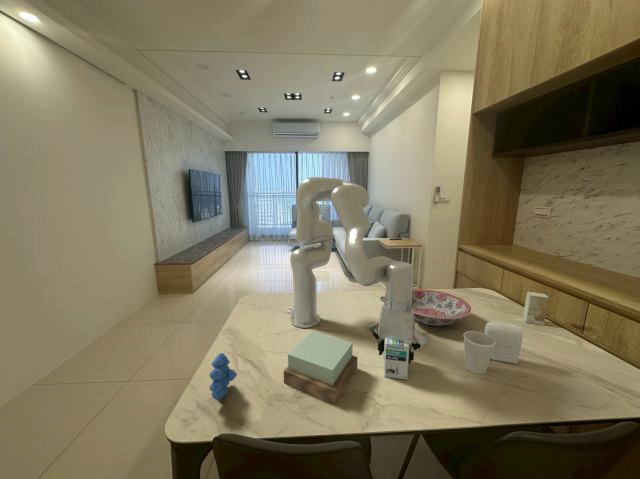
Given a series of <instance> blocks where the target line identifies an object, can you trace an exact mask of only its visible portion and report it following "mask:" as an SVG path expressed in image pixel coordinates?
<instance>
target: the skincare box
mask: <svg viewBox="0 0 640 479" xmlns="http://www.w3.org/2000/svg"><path fill="white" fill-rule="evenodd" d="M525 298H526V299H525V302H524V309H523V315H522V319H523V321H524V322H525V323H526V324H528V323H529V324H534V325H539V326H545V321H546V315H547V310H548V305H549V300H550V297H549V296H548V295H547V294H546V293H542V292H541V293H538V292H534V291H533V292H532V291H527V293H526V297H525Z"/></svg>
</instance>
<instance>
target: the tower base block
mask: <svg viewBox="0 0 640 479" xmlns="http://www.w3.org/2000/svg"><path fill="white" fill-rule="evenodd" d="M358 360H359V359H358V356H356V355H353V354H352V358H351V359H350V361H349V362H348V364H347V365H346V366H345V368H344V369H343V371H342V372H341V374H340V375H339V377H338V378H337V380H336V381H335V383H334V384H333V386H332V385H329V384H327V383H324V382H322V381H319V380H316V379H314V378H311V377H309V376H306V375H303V374H301V373H298V372H296V371H293V370H290V369H288V366H287V367H286V368H285V369H283V383H284V384H285V385H287V386H290V387H292V388H294V389H297V390H299V391H301V392H304V393H306V394H308V395H310V396H313V397H315V398H318V399H320V400H322V401H325V402H326V403H330V404H332V405H334V406H335V405H336V403H337V401H338V400H339V398H340V397H341V396H342V394H343V392H344V390H345V389H346V388H347V386H348V385H349V382H350V381H351V379H352V377H353V376H354V375H355V373H356V372H357V370H358Z"/></svg>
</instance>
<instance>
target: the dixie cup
mask: <svg viewBox="0 0 640 479" xmlns="http://www.w3.org/2000/svg"><path fill="white" fill-rule="evenodd" d="M462 336H463V338H464V339H463V342H464V365H465V367H466V369H467V370H469V371H471V372H472V373H475V374H486V373H487V370H488V368H489V363H490V360H491V359H490V357H491V354H492V351H493V347H494V345H495V340H494V339H493V338H492V337H490V336H489V335H487V334H484V332H480V331H477V330H467V331H465V332H464V333H463V335H462Z"/></svg>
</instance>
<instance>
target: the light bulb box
mask: <svg viewBox="0 0 640 479" xmlns="http://www.w3.org/2000/svg"><path fill="white" fill-rule="evenodd" d="M408 360H409V344H406V343H403V342H399V341H396V340H392V339H389V338H385V340H384V351H383V373H384V377H385V378H392V379H398V380H405V381H407V380H408V379H409V378H408V377H409V375H408V373H409V364H408Z"/></svg>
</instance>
